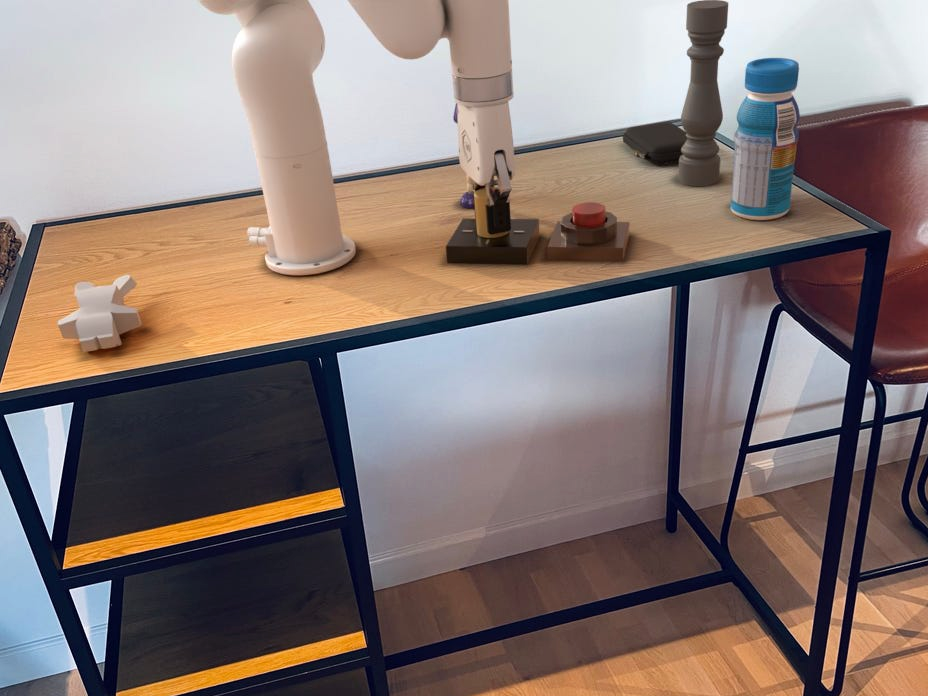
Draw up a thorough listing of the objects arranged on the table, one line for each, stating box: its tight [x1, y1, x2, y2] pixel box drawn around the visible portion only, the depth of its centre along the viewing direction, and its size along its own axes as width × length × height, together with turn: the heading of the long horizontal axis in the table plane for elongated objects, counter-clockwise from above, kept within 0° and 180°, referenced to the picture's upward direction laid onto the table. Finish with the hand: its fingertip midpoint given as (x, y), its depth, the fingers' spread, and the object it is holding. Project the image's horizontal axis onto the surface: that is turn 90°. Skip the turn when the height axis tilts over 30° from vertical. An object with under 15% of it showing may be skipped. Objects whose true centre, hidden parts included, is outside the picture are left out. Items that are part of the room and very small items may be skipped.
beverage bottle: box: [729, 57, 801, 221], centre depth 135 cm, size 8×8×20 cm
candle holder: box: [677, 0, 729, 187], centre depth 145 cm, size 6×6×25 cm
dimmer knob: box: [474, 186, 509, 238], centre depth 133 cm, size 4×4×6 cm
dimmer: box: [445, 217, 541, 266], centre depth 136 cm, size 11×10×3 cm
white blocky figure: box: [57, 274, 142, 353], centre depth 124 cm, size 10×5×15 cm
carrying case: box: [622, 121, 688, 166], centre depth 164 cm, size 11×3×15 cm
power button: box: [571, 201, 606, 227], centre depth 132 cm, size 4×4×2 cm
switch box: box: [546, 210, 630, 263], centre depth 133 cm, size 10×9×4 cm
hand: (493, 224), depth 134 cm, fingers closed on dimmer knob, 4 cm apart
